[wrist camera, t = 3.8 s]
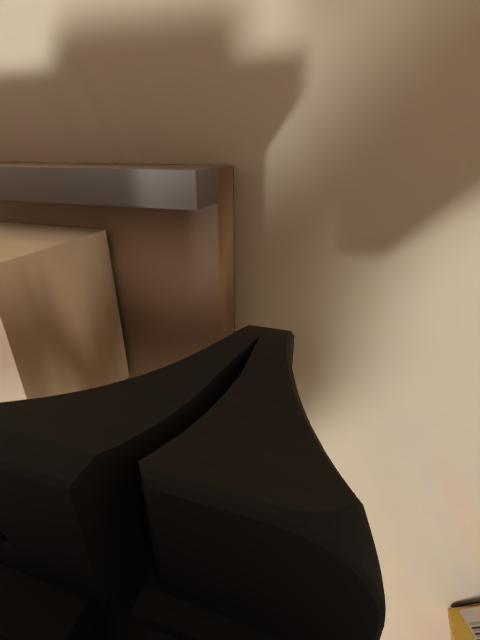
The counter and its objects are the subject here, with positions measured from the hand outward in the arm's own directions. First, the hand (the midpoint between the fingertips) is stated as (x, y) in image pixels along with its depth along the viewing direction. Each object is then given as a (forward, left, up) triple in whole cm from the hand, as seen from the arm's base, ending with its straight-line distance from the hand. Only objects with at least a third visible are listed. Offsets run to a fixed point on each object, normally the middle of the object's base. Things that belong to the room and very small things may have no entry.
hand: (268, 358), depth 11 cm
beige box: (0, +9, -2) cm, 9 cm away
